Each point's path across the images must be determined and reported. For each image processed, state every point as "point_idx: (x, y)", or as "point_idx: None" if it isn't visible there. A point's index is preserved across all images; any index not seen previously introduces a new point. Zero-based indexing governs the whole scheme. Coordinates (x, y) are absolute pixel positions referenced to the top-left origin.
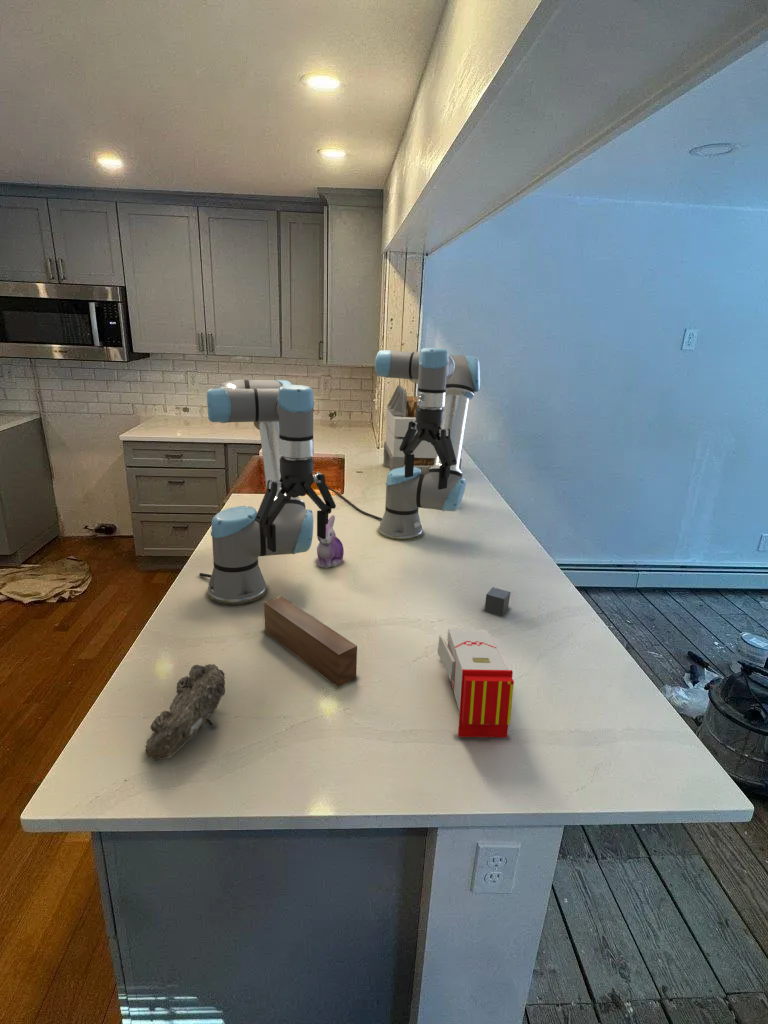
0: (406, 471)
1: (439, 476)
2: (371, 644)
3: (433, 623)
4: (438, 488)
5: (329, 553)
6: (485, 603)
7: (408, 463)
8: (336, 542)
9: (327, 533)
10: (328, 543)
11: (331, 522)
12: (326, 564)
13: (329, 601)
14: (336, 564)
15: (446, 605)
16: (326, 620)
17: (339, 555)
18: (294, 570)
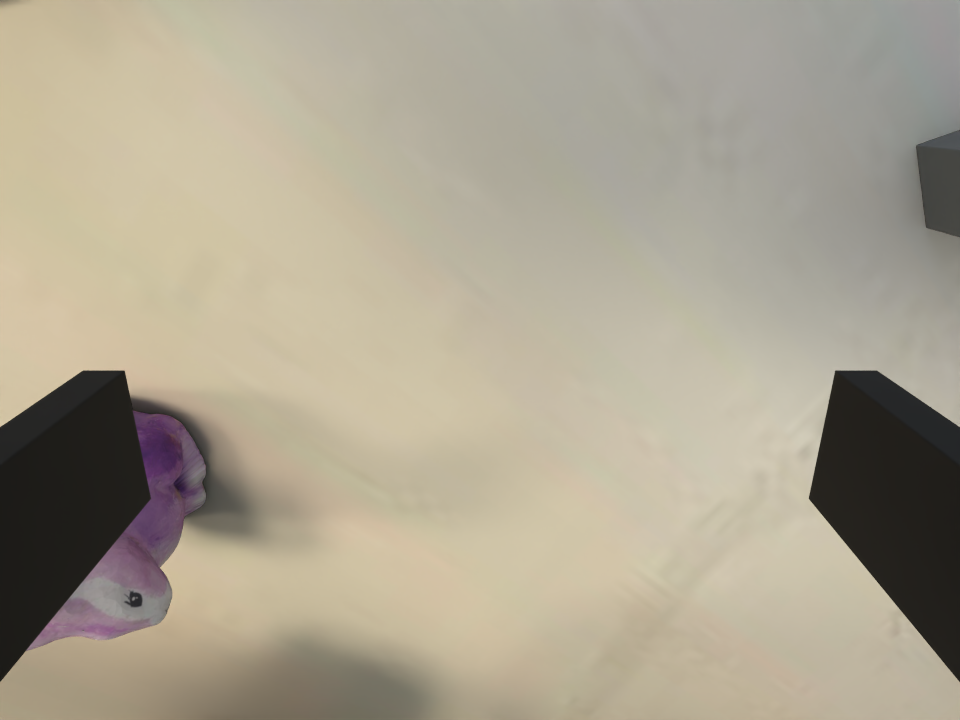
0: (97, 557)
1: (932, 633)
2: (745, 667)
3: (815, 457)
4: (822, 504)
5: (179, 534)
6: (951, 234)
7: (1, 634)
8: None
9: (133, 624)
10: (171, 590)
11: None
12: (193, 508)
13: (453, 626)
14: (202, 464)
15: (772, 324)
16: (549, 689)
17: (179, 467)
18: None
